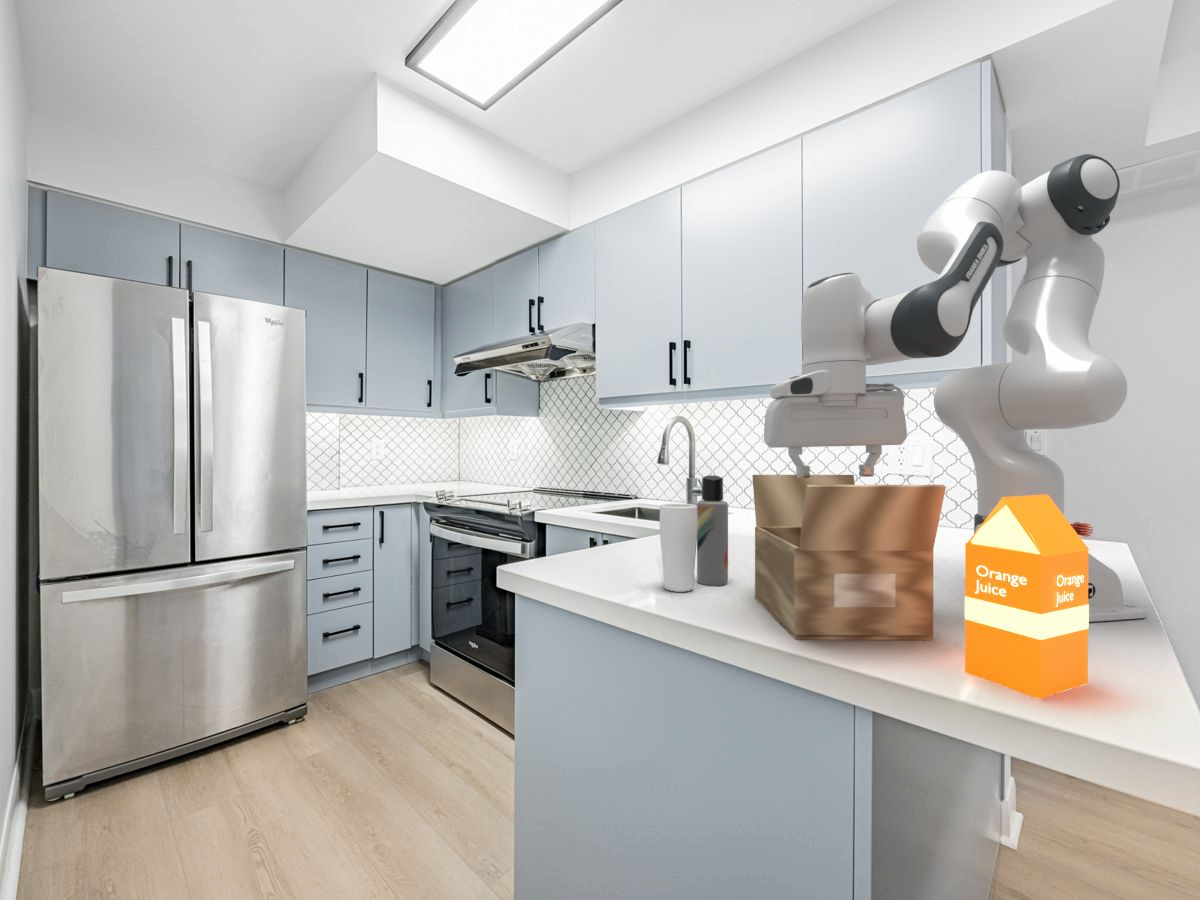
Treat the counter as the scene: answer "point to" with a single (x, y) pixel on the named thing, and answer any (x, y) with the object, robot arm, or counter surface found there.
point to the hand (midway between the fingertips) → (834, 477)
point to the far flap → (787, 497)
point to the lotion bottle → (712, 533)
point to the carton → (843, 589)
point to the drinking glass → (678, 545)
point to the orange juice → (1027, 599)
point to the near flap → (871, 517)
